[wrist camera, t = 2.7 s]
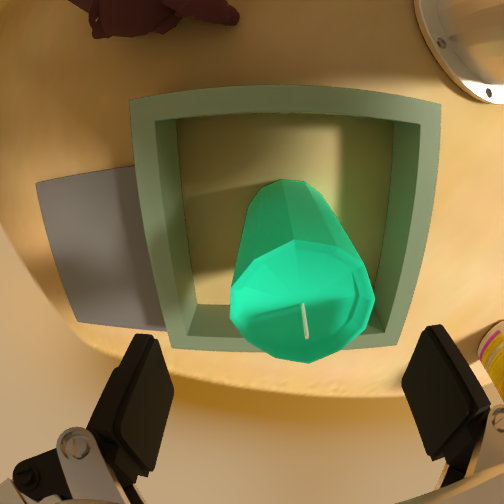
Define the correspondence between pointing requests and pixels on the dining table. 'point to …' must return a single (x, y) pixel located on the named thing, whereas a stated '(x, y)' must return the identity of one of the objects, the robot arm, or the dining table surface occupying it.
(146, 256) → the rubber mat
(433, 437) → the robot arm
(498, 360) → the supplement bottle
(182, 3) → the icecream
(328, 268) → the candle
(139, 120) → the box
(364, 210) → the dining table surface
